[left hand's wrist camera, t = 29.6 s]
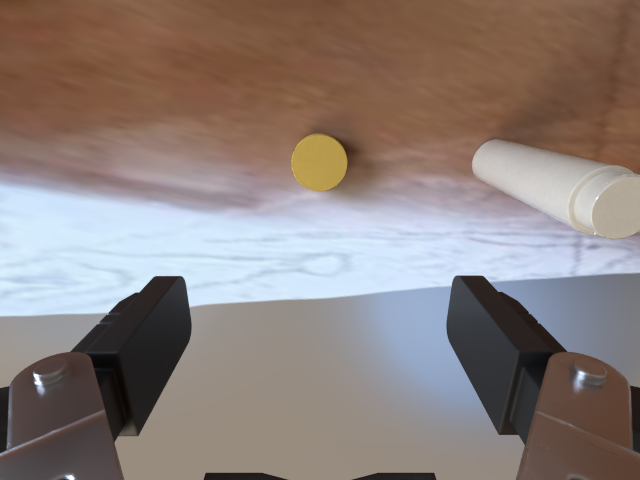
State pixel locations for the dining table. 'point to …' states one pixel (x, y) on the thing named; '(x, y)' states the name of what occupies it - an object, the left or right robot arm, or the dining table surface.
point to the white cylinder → (564, 186)
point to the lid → (319, 162)
